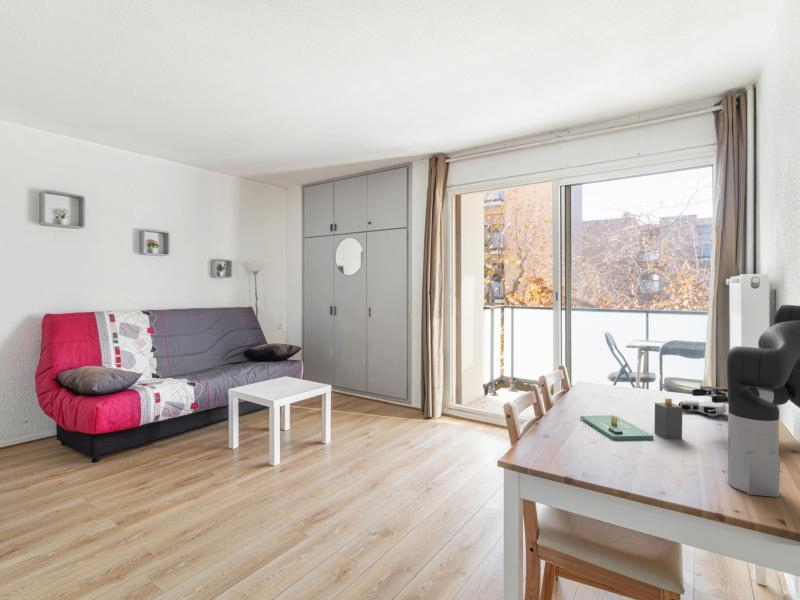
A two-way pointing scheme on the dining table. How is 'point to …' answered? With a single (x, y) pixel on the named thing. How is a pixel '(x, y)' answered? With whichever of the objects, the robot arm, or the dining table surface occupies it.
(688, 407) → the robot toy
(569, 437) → the dining table surface
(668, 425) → the block
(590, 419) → the header board
